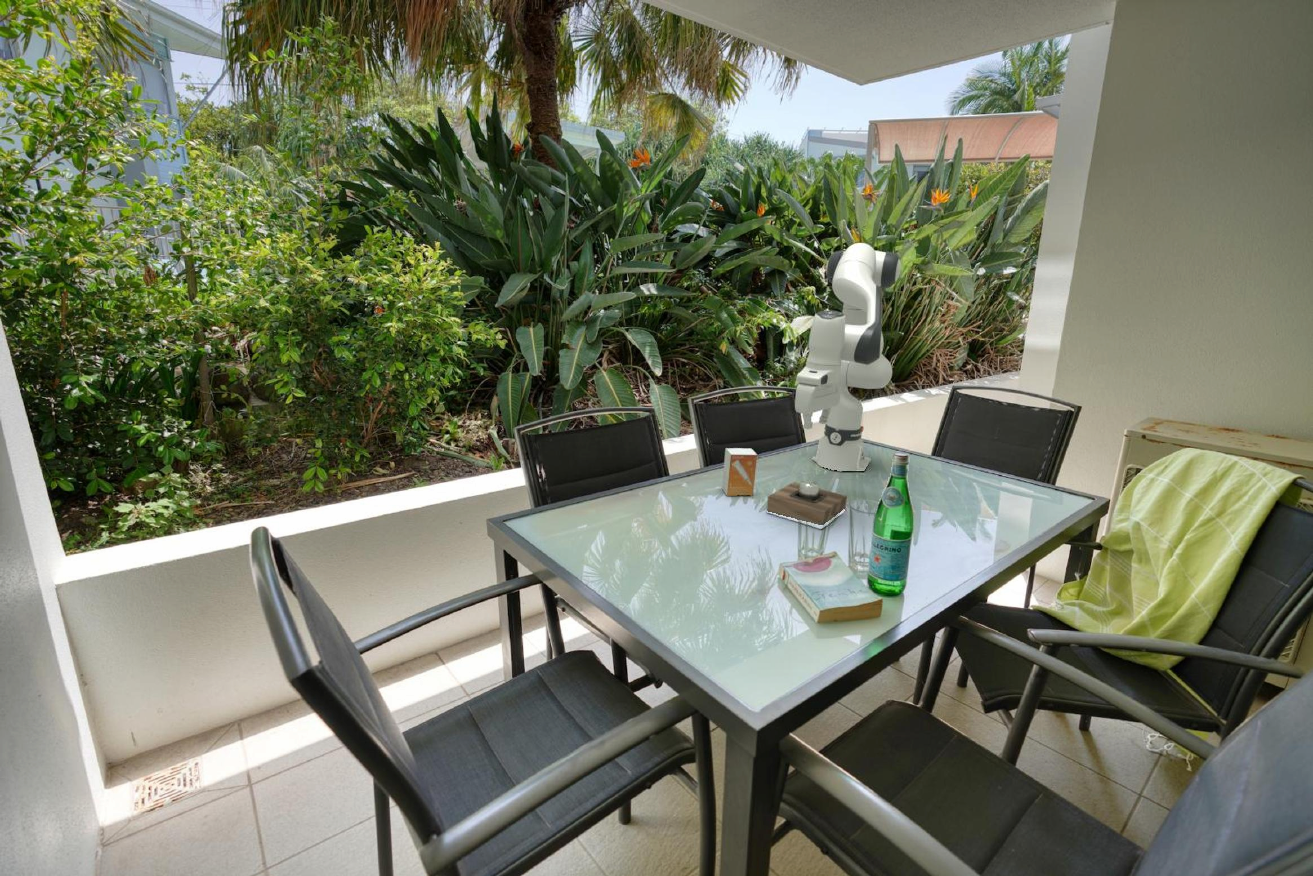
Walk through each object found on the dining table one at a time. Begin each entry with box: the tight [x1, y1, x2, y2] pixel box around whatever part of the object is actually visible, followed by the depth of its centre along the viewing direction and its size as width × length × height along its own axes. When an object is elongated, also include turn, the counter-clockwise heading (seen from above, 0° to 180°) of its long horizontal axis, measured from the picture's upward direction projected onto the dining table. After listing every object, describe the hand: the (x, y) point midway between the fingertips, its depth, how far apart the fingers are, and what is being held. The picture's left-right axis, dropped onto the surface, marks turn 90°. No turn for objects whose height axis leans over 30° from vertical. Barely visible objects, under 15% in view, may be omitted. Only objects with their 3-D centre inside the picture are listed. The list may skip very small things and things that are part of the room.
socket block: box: [766, 481, 848, 525], centre depth 170 cm, size 16×16×5 cm
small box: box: [721, 447, 758, 497], centre depth 181 cm, size 8×6×13 cm
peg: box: [799, 480, 820, 501], centre depth 169 cm, size 5×5×5 cm
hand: (815, 425), depth 164 cm, fingers open, 8 cm apart
